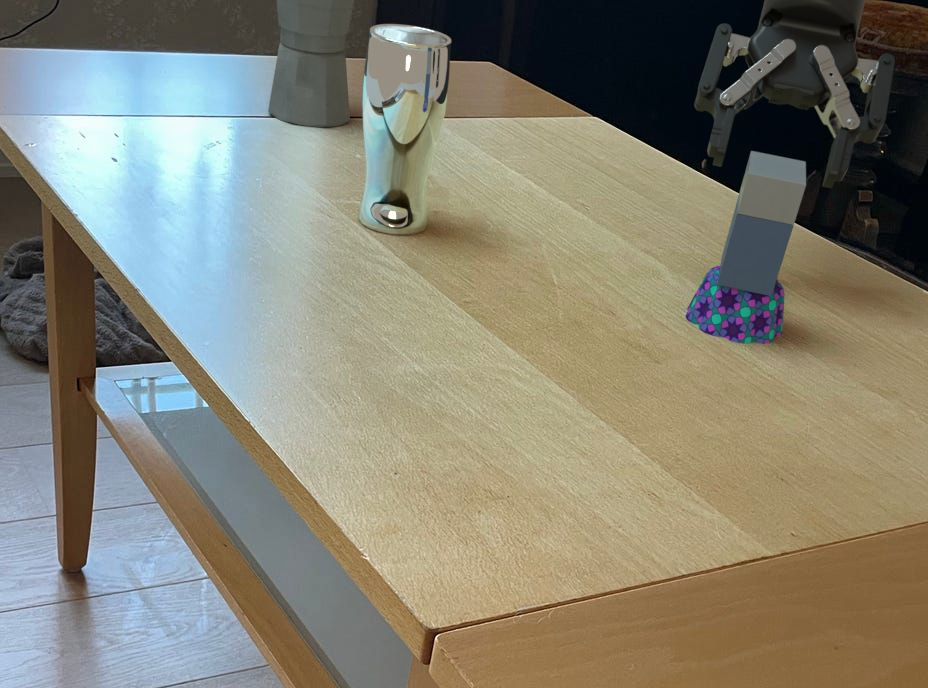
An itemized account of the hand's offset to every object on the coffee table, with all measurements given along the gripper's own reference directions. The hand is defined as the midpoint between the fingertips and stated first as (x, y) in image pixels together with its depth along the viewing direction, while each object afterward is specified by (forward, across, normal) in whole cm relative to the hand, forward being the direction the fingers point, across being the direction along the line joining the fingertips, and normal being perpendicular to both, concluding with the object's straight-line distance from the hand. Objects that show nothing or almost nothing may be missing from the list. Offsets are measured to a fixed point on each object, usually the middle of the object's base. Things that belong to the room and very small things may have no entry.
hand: (773, 171), depth 89 cm
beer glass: (+6, +30, -10) cm, 32 cm away
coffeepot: (-14, +48, -30) cm, 58 cm away
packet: (+9, 0, +1) cm, 9 cm away
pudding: (+13, 0, -3) cm, 13 cm away
